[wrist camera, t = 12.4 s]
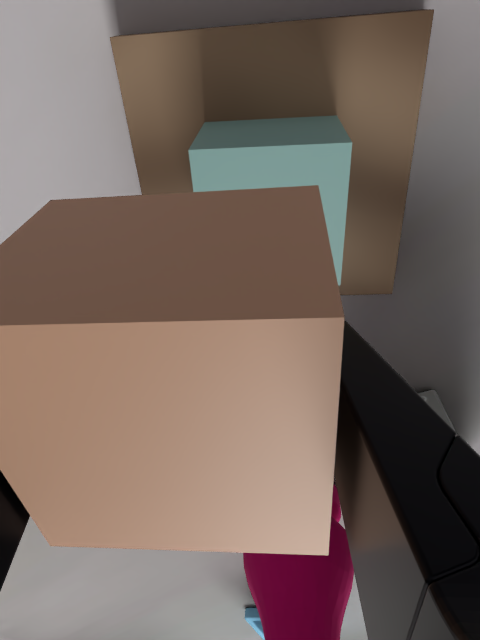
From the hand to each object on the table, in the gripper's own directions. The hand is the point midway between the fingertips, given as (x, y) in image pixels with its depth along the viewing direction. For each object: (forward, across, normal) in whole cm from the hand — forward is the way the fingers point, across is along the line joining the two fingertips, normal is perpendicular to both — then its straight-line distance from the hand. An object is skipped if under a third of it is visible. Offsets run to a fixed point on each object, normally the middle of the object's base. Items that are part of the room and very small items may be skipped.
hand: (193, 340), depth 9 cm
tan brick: (+1, 0, 0) cm, 1 cm away
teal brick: (+11, -1, +1) cm, 11 cm away
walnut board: (+12, -1, +1) cm, 13 cm away
